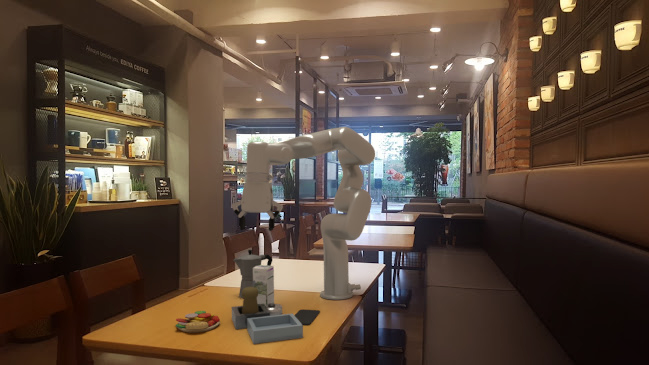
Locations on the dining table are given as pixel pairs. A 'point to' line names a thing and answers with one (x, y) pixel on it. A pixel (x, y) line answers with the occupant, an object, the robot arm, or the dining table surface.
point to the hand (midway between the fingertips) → (256, 230)
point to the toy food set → (198, 322)
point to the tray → (274, 328)
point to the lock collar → (254, 314)
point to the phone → (306, 316)
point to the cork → (250, 300)
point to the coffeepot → (249, 268)
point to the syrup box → (264, 283)
